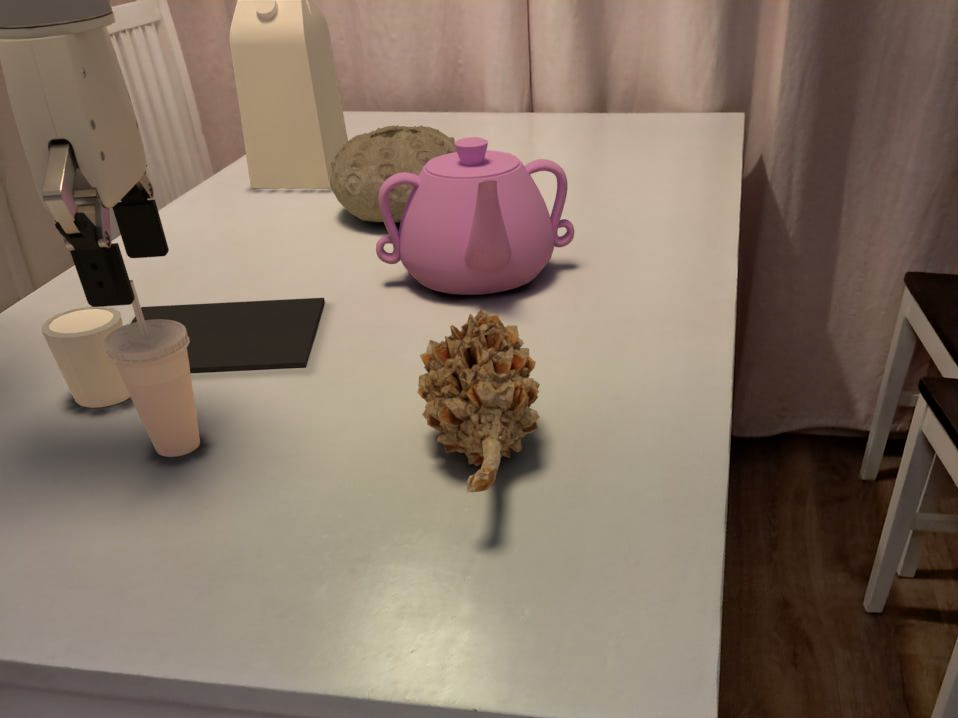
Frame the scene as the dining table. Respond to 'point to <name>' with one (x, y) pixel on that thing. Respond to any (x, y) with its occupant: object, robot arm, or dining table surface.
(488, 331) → the pine cone
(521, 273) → the teapot
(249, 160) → the milk
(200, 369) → the mat
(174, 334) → the smoothie
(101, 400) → the cream candle
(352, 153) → the decorative shell
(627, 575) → the dining table surface
